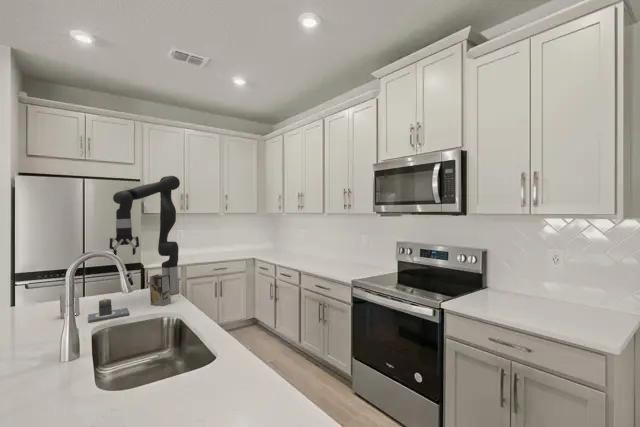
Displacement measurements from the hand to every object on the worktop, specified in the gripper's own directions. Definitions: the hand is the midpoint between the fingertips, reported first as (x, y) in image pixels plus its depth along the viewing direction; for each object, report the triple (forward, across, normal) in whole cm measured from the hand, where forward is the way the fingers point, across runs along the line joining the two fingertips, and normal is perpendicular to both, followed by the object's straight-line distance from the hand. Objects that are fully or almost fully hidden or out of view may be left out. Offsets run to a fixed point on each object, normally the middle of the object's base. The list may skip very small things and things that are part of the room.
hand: (124, 255), depth 180 cm
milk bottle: (+28, -25, -3) cm, 38 cm away
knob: (+27, -10, -16) cm, 33 cm away
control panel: (+28, -9, -16) cm, 34 cm away
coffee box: (+28, +16, -10) cm, 34 cm away
